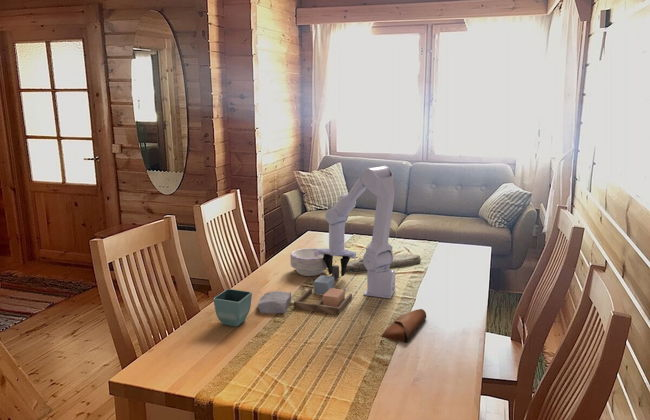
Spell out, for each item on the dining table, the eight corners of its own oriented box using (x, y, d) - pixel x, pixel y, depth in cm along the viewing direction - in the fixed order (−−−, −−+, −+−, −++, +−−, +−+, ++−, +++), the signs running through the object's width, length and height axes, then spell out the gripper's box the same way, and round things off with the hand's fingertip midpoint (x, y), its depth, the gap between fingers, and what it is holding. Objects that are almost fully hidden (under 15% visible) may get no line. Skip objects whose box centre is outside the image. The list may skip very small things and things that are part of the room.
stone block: (257, 318, 165) (287, 314, 164) (254, 304, 164) (284, 299, 163) (265, 305, 177) (293, 300, 175) (262, 292, 176) (290, 287, 175)
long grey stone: (426, 267, 211) (412, 262, 220) (426, 255, 211) (413, 250, 220) (348, 274, 198) (337, 268, 207) (348, 261, 197) (338, 255, 206)
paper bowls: (334, 268, 207) (334, 248, 205) (322, 280, 192) (322, 260, 191) (298, 264, 211) (298, 245, 209) (284, 276, 197) (284, 256, 195)
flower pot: (253, 318, 160) (252, 291, 158) (240, 330, 152) (238, 302, 150) (228, 315, 163) (227, 288, 161) (214, 326, 155) (212, 298, 153)
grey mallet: (343, 279, 194) (343, 266, 193) (327, 295, 179) (327, 281, 178) (330, 277, 196) (330, 264, 195) (314, 293, 180) (313, 279, 179)
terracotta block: (344, 302, 173) (344, 289, 172) (337, 310, 167) (337, 297, 166) (330, 300, 175) (330, 287, 174) (322, 308, 168) (322, 295, 167)
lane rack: (352, 298, 176) (352, 292, 175) (338, 314, 163) (338, 308, 162) (309, 293, 181) (309, 287, 180) (293, 308, 168) (293, 301, 168)
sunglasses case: (400, 313, 163) (411, 298, 160) (418, 328, 161) (429, 313, 159) (379, 337, 148) (391, 320, 145) (399, 353, 146) (411, 337, 143)
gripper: (314, 240, 190) (314, 275, 193) (352, 244, 186) (352, 280, 188) (321, 235, 197) (321, 269, 200) (357, 239, 192) (357, 273, 195)
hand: (336, 274), depth 195 cm, fingers open, 4 cm apart
